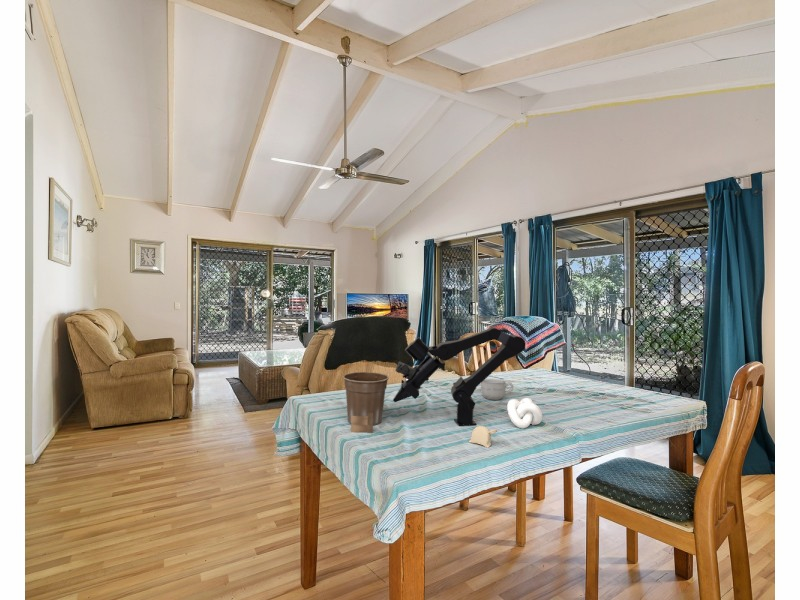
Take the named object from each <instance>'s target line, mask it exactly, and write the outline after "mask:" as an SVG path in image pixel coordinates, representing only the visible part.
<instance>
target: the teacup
mask: <svg viewBox="0 0 800 600" xmlns="http://www.w3.org/2000/svg"><path fill="white" fill-rule="evenodd" d="M508 386H510V389H509V390H506V389H507V387H508ZM513 390H514V384H513V383H512V382H509V381H507V382H506V381H505V380H502V379H494V378H486V379H485V380H484V381H482V382H481V383H480V391H481V396H483V397H484V398H485V399H487V400H496V401H498V400H501V399H502V398H503V397H504V396H507V394H509V393H511V392H512V391H513Z"/></svg>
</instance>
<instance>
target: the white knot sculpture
mask: <svg viewBox="0 0 800 600" xmlns="http://www.w3.org/2000/svg"><path fill="white" fill-rule="evenodd" d="M506 408H507V409H506V410H507V413H508V417H509V419H510V421H511V423H513V425H514V426H516V428H519V429H527V428H528V427H530V426H531V425H530V424H532V426H536V425H539V424H540V423H541V422H542V420H543V413H542V410H541V408H540V407H539V406H538V405H537V404H536V403H534V402H533V400H532V399H531V398H530V397H524V398H521V399H520V400H518V399H516V398H511V399H510V400H508V402H507V405H506Z"/></svg>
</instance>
